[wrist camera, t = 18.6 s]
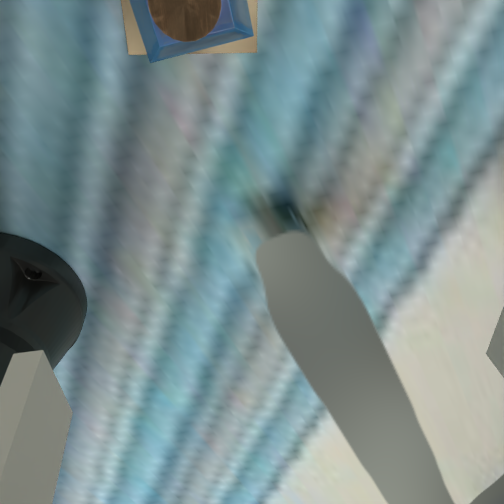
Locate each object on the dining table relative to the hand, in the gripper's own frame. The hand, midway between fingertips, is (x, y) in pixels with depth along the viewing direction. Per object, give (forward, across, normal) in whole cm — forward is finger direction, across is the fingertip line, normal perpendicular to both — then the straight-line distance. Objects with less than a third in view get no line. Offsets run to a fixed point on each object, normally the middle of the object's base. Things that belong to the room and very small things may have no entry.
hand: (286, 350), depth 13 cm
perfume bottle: (+26, -2, +8) cm, 27 cm away
